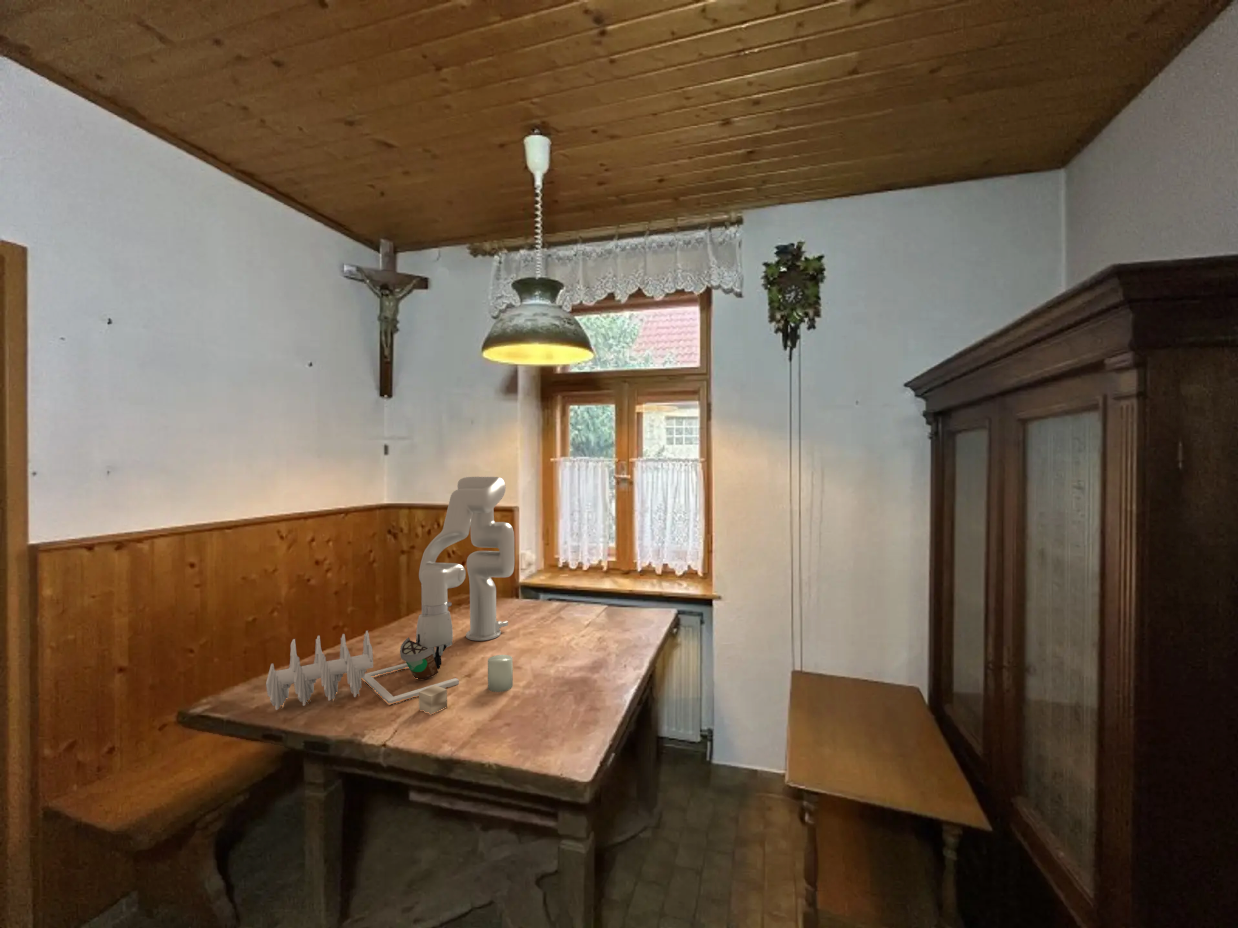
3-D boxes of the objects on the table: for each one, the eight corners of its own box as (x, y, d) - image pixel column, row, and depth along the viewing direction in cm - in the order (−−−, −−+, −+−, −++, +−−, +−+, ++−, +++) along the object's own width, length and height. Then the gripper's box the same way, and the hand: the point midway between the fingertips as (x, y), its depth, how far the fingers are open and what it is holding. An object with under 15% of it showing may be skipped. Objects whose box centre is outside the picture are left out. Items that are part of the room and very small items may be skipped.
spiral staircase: (276, 716, 145) (376, 694, 155) (261, 714, 131) (372, 691, 141) (277, 647, 152) (372, 631, 162) (262, 638, 137) (369, 621, 147)
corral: (425, 661, 174) (425, 657, 174) (458, 683, 156) (458, 679, 156) (360, 678, 160) (360, 674, 160) (388, 705, 142) (388, 701, 142)
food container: (400, 675, 163) (390, 649, 159) (417, 662, 167) (407, 636, 164) (424, 688, 155) (413, 661, 152) (441, 674, 160) (431, 647, 156)
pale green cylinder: (504, 679, 159) (504, 652, 159) (517, 686, 154) (517, 659, 154) (483, 686, 154) (483, 659, 154) (495, 694, 149) (495, 665, 149)
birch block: (434, 703, 144) (434, 684, 144) (447, 707, 141) (446, 689, 141) (419, 710, 140) (418, 691, 140) (431, 715, 137) (431, 696, 137)
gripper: (452, 601, 171) (452, 658, 171) (405, 611, 161) (406, 671, 161) (463, 606, 165) (463, 664, 166) (415, 616, 155) (416, 679, 155)
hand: (435, 668), depth 163 cm, fingers closed
